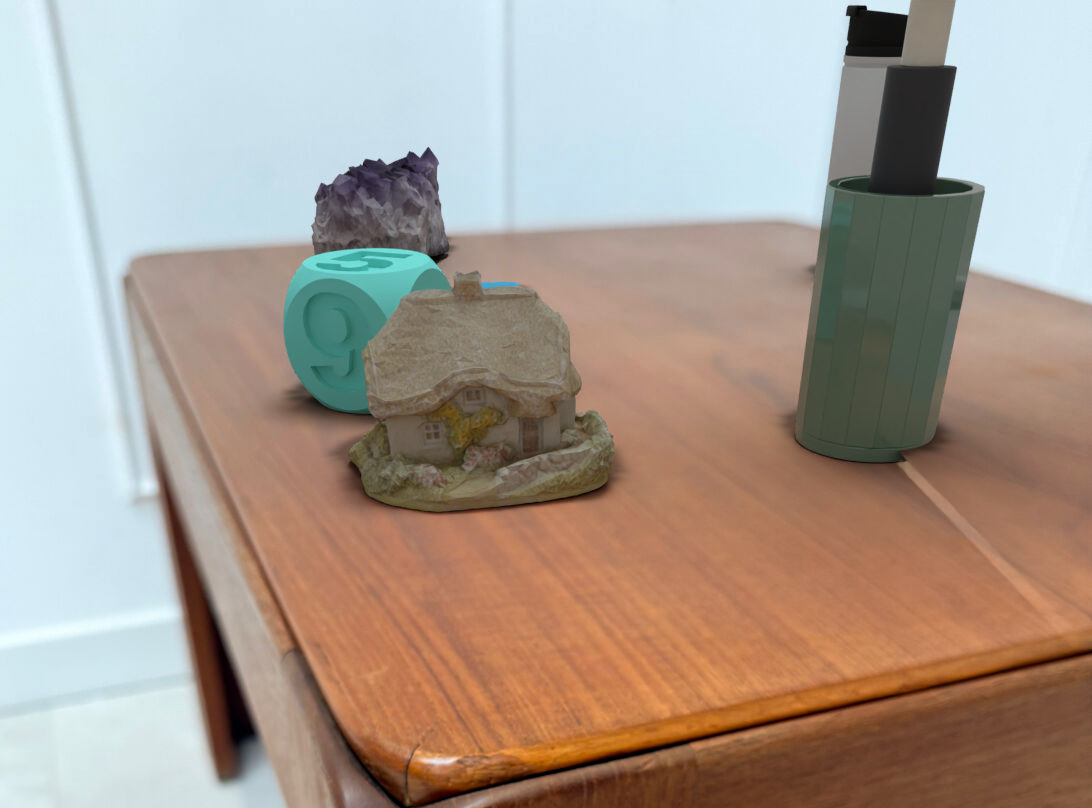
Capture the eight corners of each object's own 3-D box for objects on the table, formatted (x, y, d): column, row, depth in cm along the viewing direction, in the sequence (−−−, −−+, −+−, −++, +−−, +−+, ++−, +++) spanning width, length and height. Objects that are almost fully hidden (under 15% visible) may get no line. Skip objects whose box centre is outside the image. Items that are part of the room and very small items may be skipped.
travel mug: (800, 273, 98) (833, 4, 87) (868, 269, 99) (910, 3, 88) (827, 288, 93) (867, 5, 82) (899, 284, 94) (948, 4, 83)
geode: (354, 240, 114) (358, 131, 108) (462, 258, 113) (472, 149, 108) (290, 272, 97) (292, 145, 91) (417, 294, 96) (426, 168, 91)
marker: (917, 200, 57) (985, -177, 48) (941, 210, 54) (1016, -187, 45) (857, 201, 57) (914, -177, 48) (877, 211, 54) (941, -187, 45)
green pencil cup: (904, 416, 66) (950, 173, 58) (953, 460, 59) (1011, 195, 52) (779, 420, 65) (809, 176, 58) (815, 465, 59) (854, 198, 51)
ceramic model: (339, 516, 54) (314, 302, 48) (353, 440, 63) (334, 252, 57) (622, 506, 54) (631, 294, 49) (596, 432, 64) (601, 246, 58)
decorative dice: (461, 384, 72) (456, 252, 67) (405, 421, 66) (394, 279, 61) (355, 371, 74) (342, 244, 70) (291, 406, 68) (272, 269, 63)
